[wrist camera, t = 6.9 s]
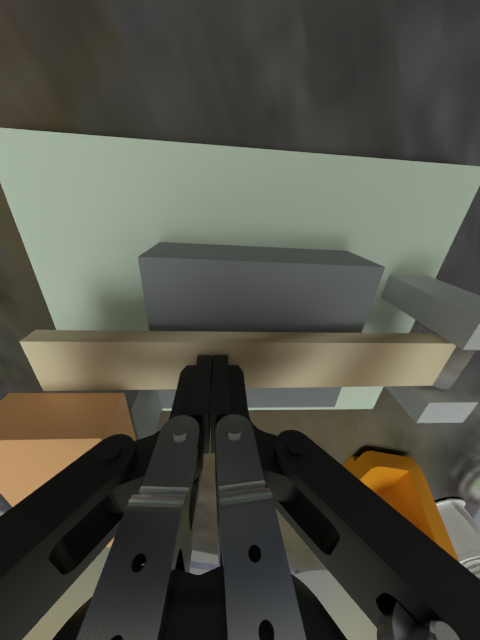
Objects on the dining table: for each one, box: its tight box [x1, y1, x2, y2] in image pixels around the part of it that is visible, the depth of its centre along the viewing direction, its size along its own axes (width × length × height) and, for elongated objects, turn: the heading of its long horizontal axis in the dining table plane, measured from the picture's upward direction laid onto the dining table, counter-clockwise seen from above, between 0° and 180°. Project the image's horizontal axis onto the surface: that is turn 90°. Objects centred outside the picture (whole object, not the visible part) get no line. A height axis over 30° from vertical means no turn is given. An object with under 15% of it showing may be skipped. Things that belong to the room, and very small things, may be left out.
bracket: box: [343, 451, 460, 563], centre depth 26 cm, size 11×7×12 cm, turn 161°
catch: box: [0, 393, 136, 547], centre depth 11 cm, size 6×7×4 cm
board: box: [0, 128, 480, 440], centre depth 15 cm, size 27×20×8 cm
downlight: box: [436, 498, 480, 579], centre depth 34 cm, size 8×7×10 cm
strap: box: [19, 330, 476, 391], centre depth 12 cm, size 23×3×2 cm, turn 87°
